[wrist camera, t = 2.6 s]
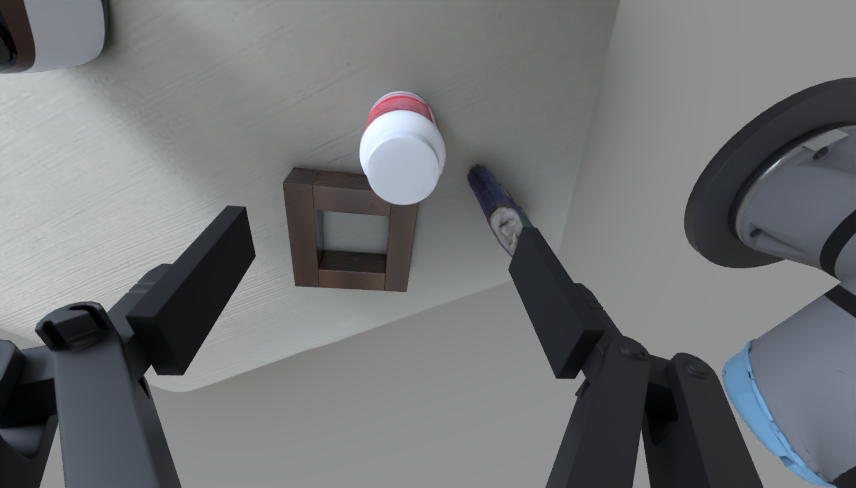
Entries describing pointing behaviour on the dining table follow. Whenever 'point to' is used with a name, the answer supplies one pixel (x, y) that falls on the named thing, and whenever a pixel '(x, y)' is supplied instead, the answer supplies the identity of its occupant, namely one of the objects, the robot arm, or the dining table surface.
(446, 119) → the dining table surface
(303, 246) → the socket base
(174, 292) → the robot arm
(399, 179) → the pill bottle
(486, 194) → the flask
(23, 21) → the spread jar
